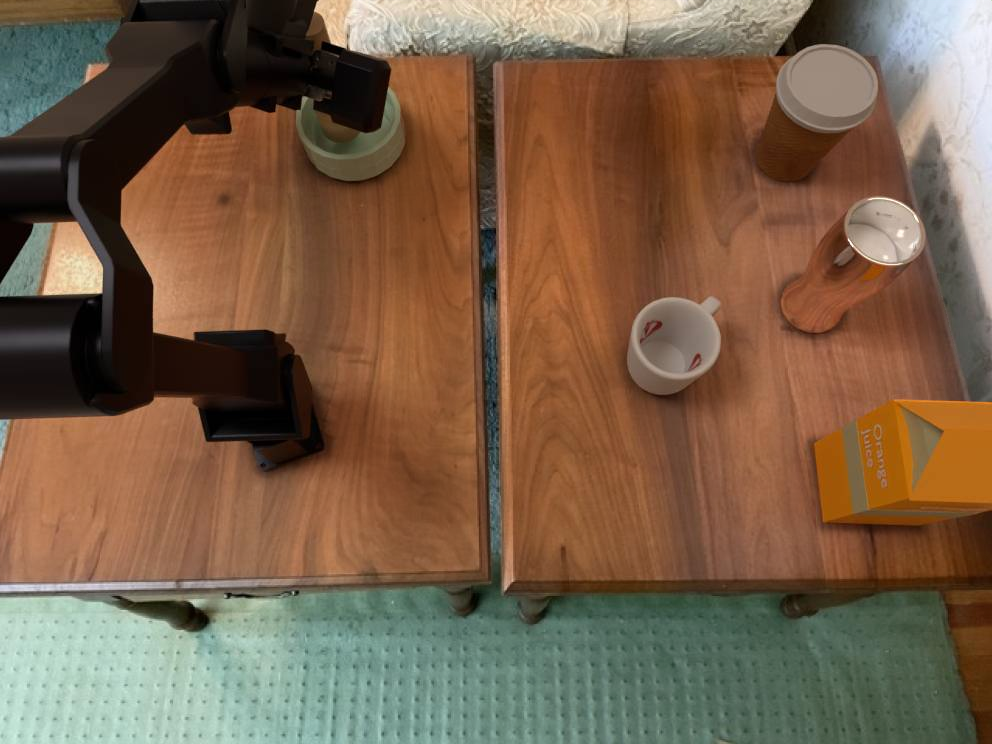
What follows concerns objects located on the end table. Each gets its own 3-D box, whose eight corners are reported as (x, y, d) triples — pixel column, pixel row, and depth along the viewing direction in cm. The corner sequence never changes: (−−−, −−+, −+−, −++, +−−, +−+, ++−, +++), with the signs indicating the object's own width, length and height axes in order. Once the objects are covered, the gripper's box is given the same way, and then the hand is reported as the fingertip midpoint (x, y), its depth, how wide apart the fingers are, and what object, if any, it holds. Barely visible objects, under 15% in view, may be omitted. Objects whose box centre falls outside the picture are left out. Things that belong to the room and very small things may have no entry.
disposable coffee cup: (730, 178, 76) (769, 102, 65) (754, 111, 79) (795, 28, 68) (816, 206, 75) (870, 134, 64) (837, 138, 78) (893, 57, 67)
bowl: (418, 166, 78) (413, 140, 73) (322, 196, 77) (311, 172, 72) (389, 90, 81) (382, 61, 77) (296, 118, 80) (284, 90, 76)
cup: (672, 297, 72) (692, 260, 64) (733, 348, 70) (760, 316, 62) (601, 366, 70) (613, 336, 62) (662, 421, 68) (681, 397, 60)
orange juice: (813, 441, 67) (933, 374, 48) (906, 444, 66) (1064, 378, 48) (822, 524, 64) (954, 488, 45) (919, 527, 64) (1092, 492, 45)
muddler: (367, 136, 76) (337, 34, 63) (328, 148, 75) (290, 47, 62) (356, 105, 77) (324, -1, 64) (317, 117, 77) (278, 12, 64)
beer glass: (762, 308, 71) (825, 232, 57) (801, 263, 73) (872, 178, 59) (819, 351, 70) (898, 284, 56) (858, 304, 71) (945, 227, 57)
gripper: (359, -10, 51) (434, 7, 65) (143, -76, 54) (259, -46, 68) (337, 141, 56) (410, 127, 70) (139, 75, 59) (248, 74, 73)
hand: (332, 69), depth 70 cm, fingers closed on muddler, 3 cm apart
